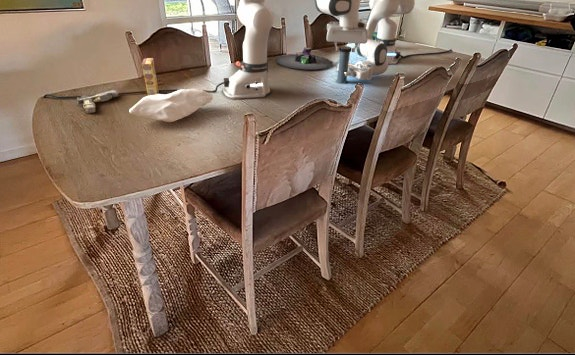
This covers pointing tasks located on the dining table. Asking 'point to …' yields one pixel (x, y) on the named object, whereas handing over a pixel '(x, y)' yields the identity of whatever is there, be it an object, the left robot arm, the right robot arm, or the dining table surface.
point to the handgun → (95, 100)
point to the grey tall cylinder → (343, 67)
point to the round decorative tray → (304, 61)
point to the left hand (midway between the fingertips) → (345, 51)
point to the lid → (345, 49)
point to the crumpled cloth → (171, 104)
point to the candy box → (150, 76)
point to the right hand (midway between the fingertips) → (341, 72)
